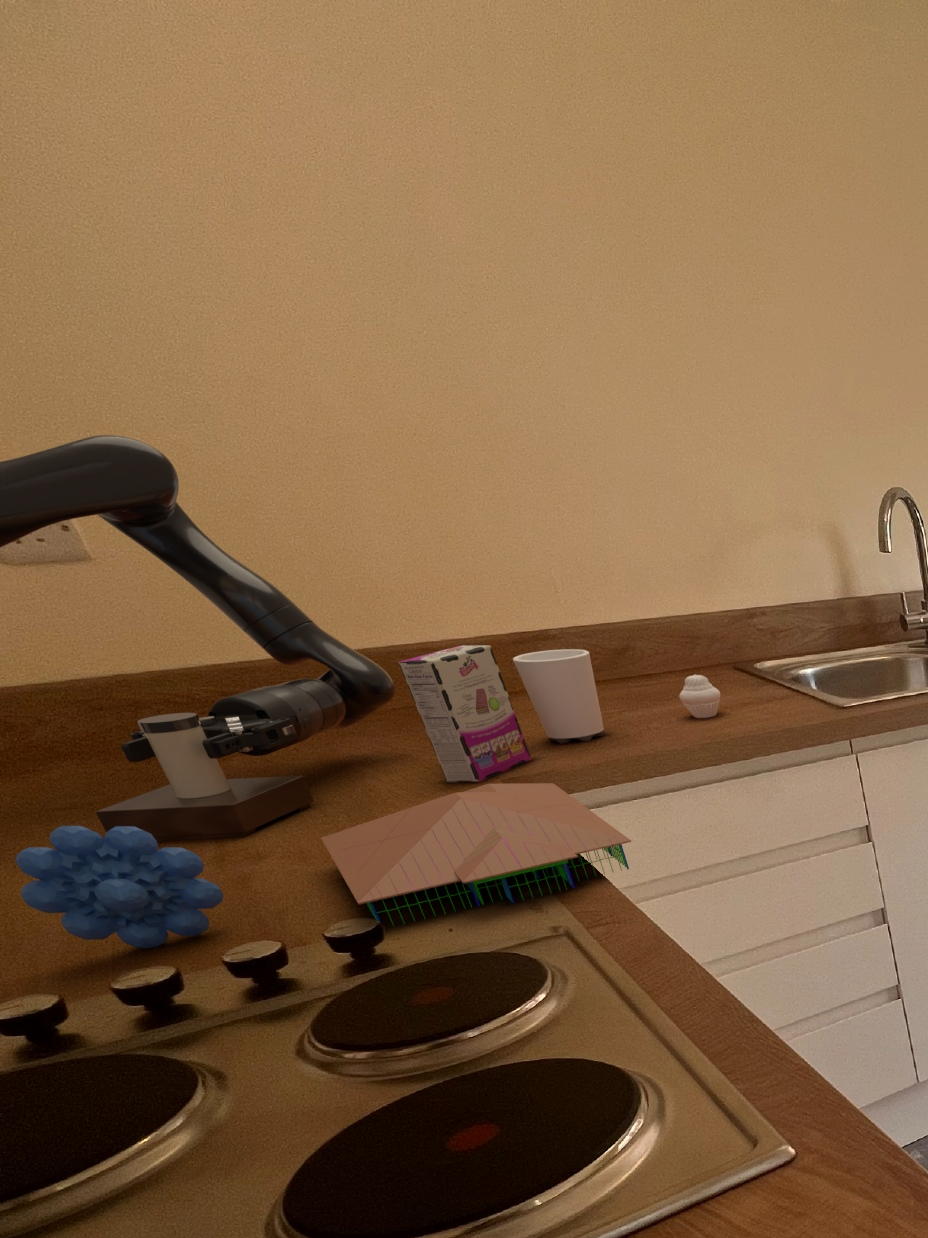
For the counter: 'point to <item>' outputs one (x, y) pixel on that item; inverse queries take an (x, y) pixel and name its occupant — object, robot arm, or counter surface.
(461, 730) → the candy bar box
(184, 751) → the spice jar
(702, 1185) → the counter surface
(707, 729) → the counter surface
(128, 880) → the blue flower
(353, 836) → the house
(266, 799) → the platform
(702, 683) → the muffin
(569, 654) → the cup
